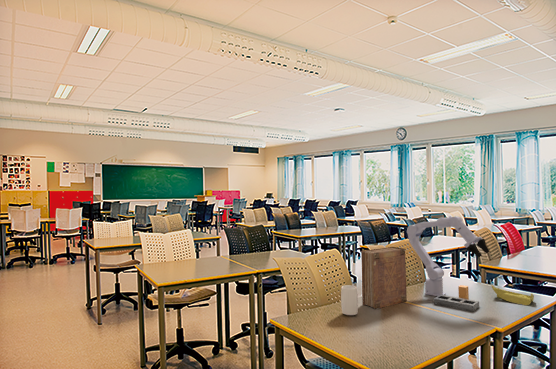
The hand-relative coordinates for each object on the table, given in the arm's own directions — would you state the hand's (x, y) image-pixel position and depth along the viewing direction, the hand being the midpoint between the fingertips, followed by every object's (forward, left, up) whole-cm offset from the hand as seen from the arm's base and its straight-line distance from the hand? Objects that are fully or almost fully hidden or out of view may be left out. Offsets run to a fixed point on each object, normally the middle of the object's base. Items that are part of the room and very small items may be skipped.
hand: (484, 254), depth 200 cm
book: (-42, -34, -27) cm, 61 cm away
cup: (-46, -63, -27) cm, 83 cm away
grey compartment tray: (-11, -13, -27) cm, 32 cm away
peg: (-11, -1, -27) cm, 29 cm away
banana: (+9, +17, -27) cm, 33 cm away
